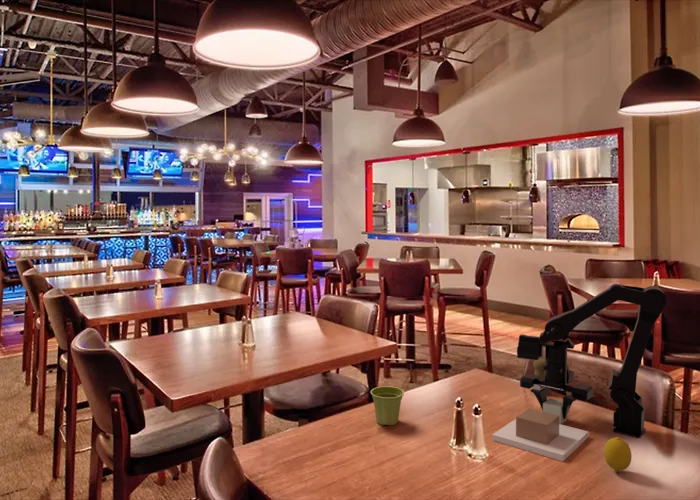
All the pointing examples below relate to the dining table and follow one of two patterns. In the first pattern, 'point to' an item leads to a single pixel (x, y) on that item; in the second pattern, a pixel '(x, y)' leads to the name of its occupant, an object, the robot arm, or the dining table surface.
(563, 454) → the build board
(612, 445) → the lemon
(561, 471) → the dining table surface
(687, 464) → the dining table surface
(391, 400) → the plant pot
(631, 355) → the robot arm
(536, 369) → the cork
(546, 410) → the sage block
